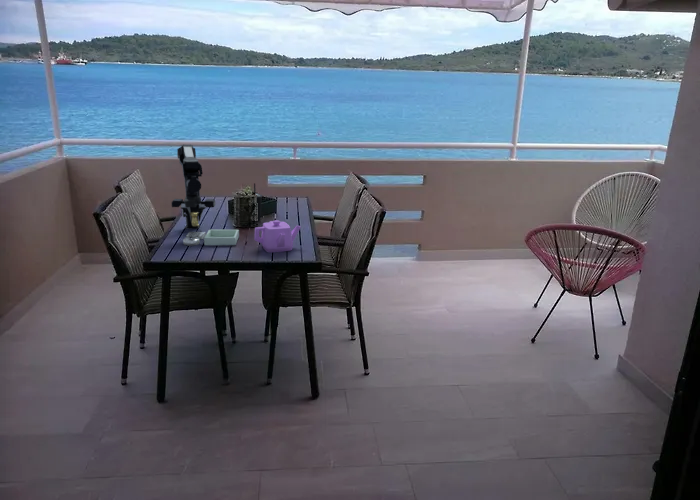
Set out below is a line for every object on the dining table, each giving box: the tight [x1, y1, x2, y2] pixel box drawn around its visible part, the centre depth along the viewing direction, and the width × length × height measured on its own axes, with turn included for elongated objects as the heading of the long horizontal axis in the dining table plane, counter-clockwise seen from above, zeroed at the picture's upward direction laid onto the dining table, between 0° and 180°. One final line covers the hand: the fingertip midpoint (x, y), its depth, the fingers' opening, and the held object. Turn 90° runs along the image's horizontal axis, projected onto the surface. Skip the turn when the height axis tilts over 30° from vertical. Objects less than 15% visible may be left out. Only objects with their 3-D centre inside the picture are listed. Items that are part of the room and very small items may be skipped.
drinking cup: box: [253, 183, 263, 222], centre depth 264 cm, size 8×8×20 cm
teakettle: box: [253, 219, 301, 253], centre depth 221 cm, size 17×17×12 cm
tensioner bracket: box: [182, 231, 207, 247], centre depth 229 cm, size 17×8×3 cm, turn 5°
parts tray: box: [203, 229, 240, 246], centre depth 229 cm, size 14×14×4 cm
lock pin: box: [190, 212, 200, 226], centre depth 232 cm, size 4×4×6 cm
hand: (194, 221), depth 232 cm, fingers closed on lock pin, 4 cm apart
